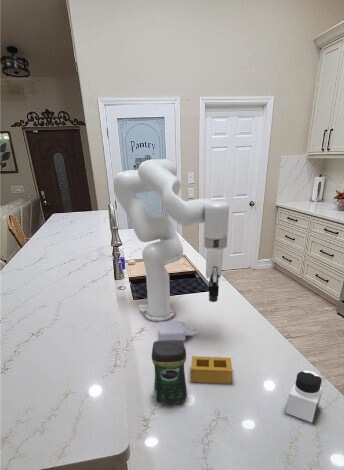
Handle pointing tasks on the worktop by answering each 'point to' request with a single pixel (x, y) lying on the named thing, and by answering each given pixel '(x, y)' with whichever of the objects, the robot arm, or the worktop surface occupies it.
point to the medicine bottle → (305, 396)
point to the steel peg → (213, 298)
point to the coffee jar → (169, 371)
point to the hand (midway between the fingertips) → (213, 293)
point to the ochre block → (211, 369)
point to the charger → (174, 331)
